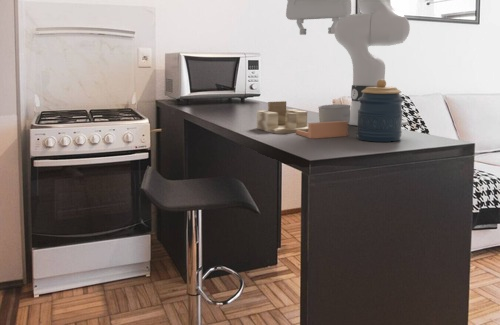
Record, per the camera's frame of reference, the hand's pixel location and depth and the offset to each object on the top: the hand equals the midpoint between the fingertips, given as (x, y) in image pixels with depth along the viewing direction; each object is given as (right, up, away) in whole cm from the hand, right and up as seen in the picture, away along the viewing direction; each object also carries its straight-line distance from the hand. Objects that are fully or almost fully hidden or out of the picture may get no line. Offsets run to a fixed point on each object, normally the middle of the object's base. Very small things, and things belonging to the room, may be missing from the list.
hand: (316, 34), depth 149 cm
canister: (+18, -32, -3) cm, 37 cm away
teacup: (+9, -27, +21) cm, 36 cm away
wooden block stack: (-9, -28, +16) cm, 34 cm away
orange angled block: (+2, -30, +5) cm, 31 cm away
